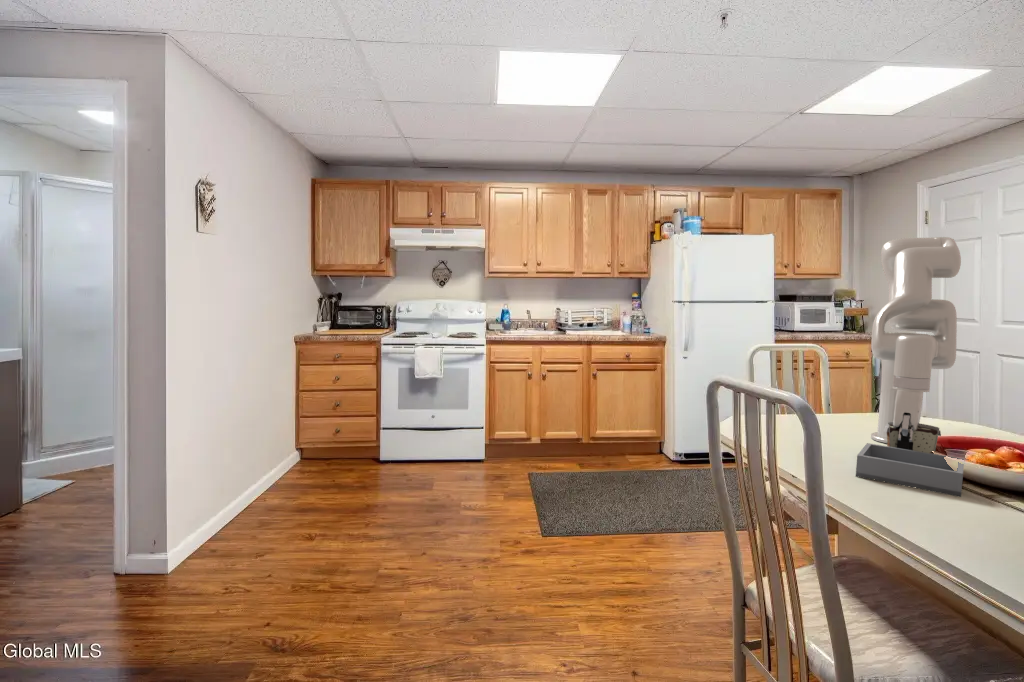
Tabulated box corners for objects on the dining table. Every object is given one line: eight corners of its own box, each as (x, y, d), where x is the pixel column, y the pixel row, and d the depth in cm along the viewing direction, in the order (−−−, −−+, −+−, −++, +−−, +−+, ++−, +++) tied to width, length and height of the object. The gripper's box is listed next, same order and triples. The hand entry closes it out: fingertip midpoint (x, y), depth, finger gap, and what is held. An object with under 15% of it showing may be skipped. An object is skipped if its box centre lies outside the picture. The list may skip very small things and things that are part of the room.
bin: (865, 462, 139) (867, 443, 138) (962, 479, 127) (964, 458, 126) (855, 476, 127) (857, 455, 127) (960, 496, 115) (963, 473, 115)
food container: (924, 460, 142) (927, 422, 141) (938, 467, 136) (941, 428, 135) (872, 457, 144) (874, 419, 143) (883, 464, 138) (887, 425, 137)
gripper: (896, 379, 146) (891, 445, 148) (888, 385, 133) (883, 457, 134) (931, 382, 142) (926, 450, 143) (927, 389, 128) (921, 464, 130)
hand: (905, 453), depth 139 cm, fingers closed on food container, 6 cm apart
